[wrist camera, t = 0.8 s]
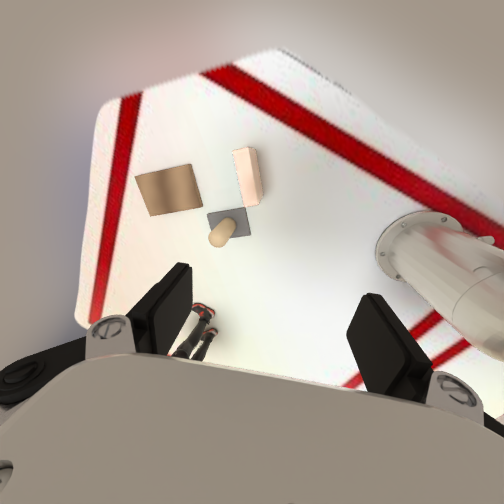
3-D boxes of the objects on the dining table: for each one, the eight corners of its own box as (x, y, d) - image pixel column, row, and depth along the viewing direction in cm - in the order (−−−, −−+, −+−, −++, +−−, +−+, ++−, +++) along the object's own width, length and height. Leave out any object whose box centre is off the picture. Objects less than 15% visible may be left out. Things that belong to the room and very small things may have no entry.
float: (245, 207, 36) (236, 219, 29) (250, 233, 38) (243, 251, 31) (208, 213, 37) (190, 226, 30) (215, 238, 39) (200, 256, 32)
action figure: (197, 297, 45) (74, 502, 18) (239, 322, 47) (182, 546, 20) (178, 323, 50) (56, 521, 23) (217, 346, 51) (145, 556, 24)
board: (190, 164, 34) (187, 164, 33) (202, 206, 36) (200, 207, 35) (138, 176, 36) (134, 176, 35) (153, 214, 38) (150, 216, 37)
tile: (255, 149, 32) (248, 146, 24) (263, 195, 34) (258, 204, 27) (242, 152, 32) (231, 150, 25) (250, 197, 35) (243, 207, 28)
